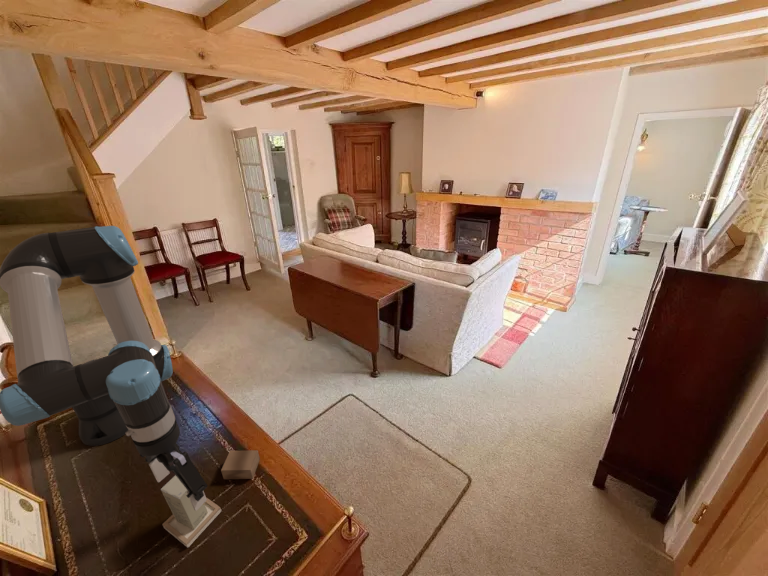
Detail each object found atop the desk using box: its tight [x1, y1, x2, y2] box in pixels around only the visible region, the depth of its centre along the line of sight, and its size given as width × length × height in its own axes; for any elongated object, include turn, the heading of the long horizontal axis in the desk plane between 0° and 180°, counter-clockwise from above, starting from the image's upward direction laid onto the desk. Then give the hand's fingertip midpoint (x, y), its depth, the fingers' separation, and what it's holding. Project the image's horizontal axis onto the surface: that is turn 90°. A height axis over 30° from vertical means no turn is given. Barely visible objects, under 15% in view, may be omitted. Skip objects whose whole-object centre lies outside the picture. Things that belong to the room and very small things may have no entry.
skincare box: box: [160, 474, 208, 529], centre depth 76 cm, size 6×4×12 cm
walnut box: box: [220, 449, 261, 480], centre depth 90 cm, size 8×6×4 cm
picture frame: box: [162, 497, 222, 548], centre depth 78 cm, size 9×9×2 cm
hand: (181, 490), depth 74 cm, fingers open, 13 cm apart
